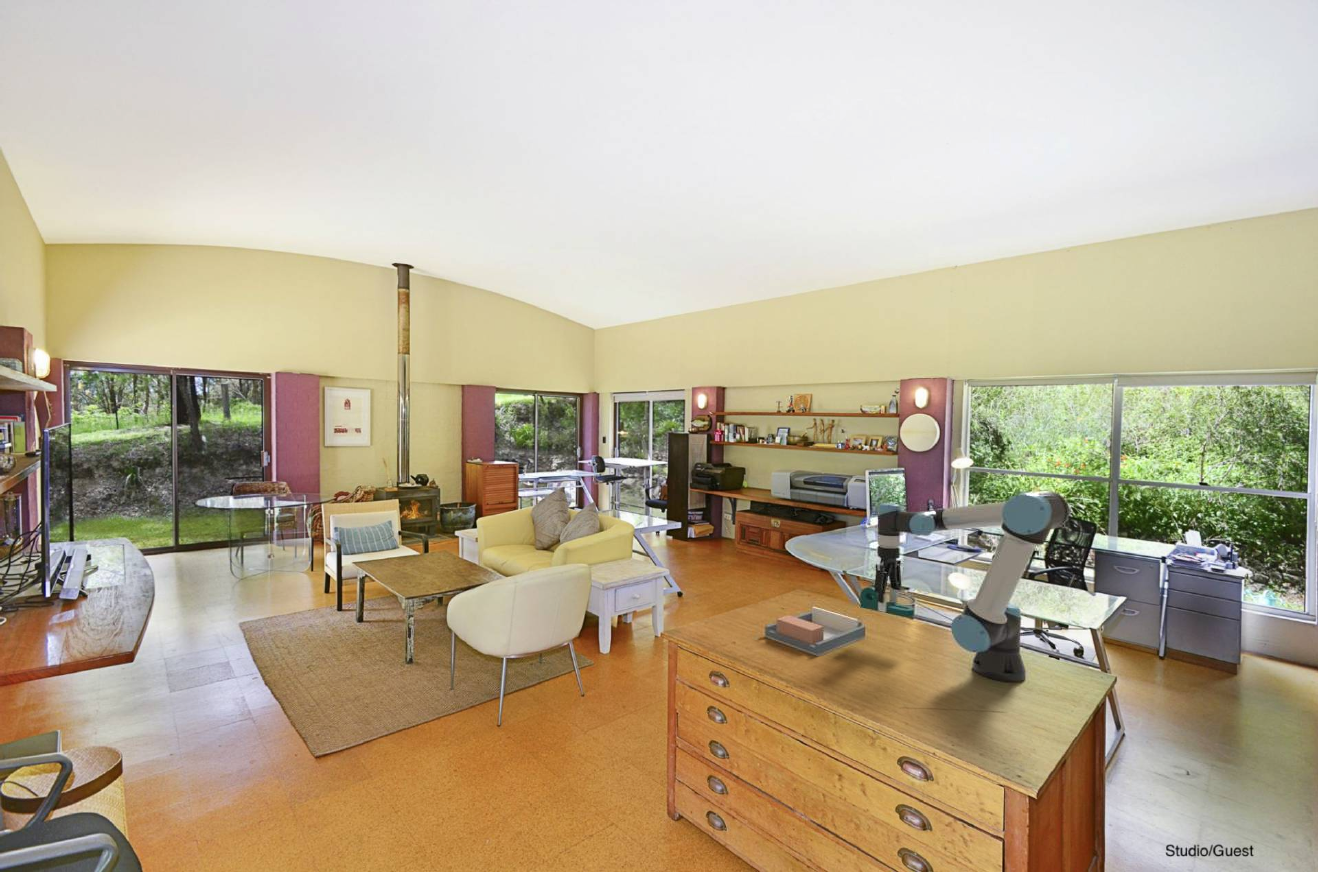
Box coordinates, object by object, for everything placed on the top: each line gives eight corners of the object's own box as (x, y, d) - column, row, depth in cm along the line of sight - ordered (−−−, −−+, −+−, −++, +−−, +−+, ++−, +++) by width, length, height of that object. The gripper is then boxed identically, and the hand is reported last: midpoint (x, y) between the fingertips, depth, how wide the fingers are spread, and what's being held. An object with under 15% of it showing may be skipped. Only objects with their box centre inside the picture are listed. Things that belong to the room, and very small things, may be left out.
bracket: (860, 607, 218) (860, 585, 218) (868, 603, 223) (868, 582, 222) (910, 618, 205) (910, 595, 205) (917, 613, 210) (917, 591, 210)
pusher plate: (813, 620, 241) (813, 606, 241) (858, 635, 226) (858, 619, 225) (811, 621, 241) (811, 606, 240) (856, 635, 225) (856, 620, 225)
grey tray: (812, 620, 244) (812, 607, 244) (865, 637, 226) (865, 622, 225) (765, 636, 225) (765, 622, 225) (818, 656, 206) (818, 640, 206)
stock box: (788, 632, 227) (788, 614, 227) (823, 645, 215) (823, 626, 215) (776, 637, 223) (776, 618, 223) (811, 649, 211) (812, 630, 210)
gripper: (893, 541, 223) (892, 601, 223) (863, 548, 210) (863, 611, 210) (912, 544, 217) (911, 606, 218) (883, 551, 204) (882, 617, 205)
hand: (887, 609), depth 214 cm, fingers closed on bracket, 7 cm apart
